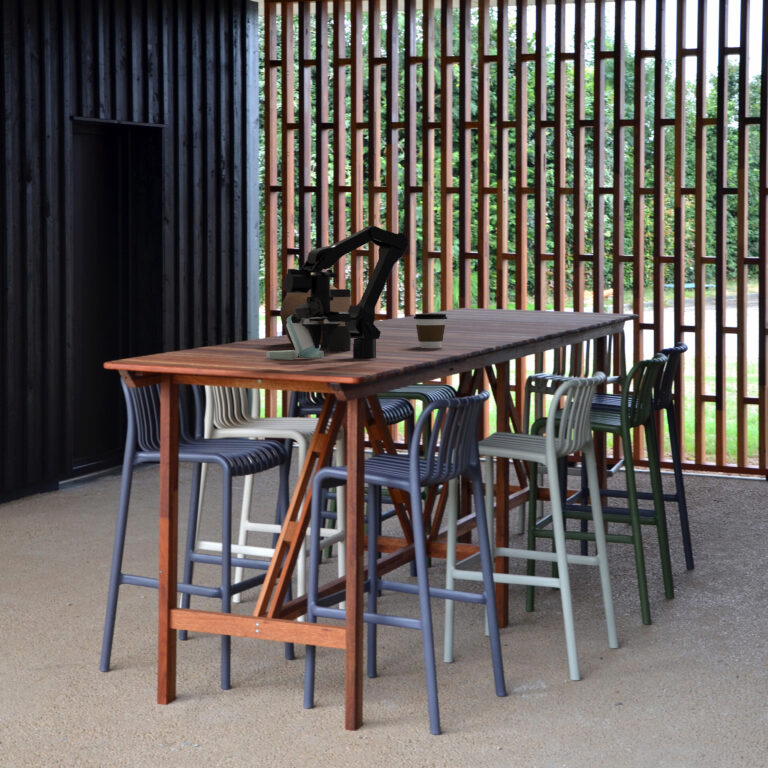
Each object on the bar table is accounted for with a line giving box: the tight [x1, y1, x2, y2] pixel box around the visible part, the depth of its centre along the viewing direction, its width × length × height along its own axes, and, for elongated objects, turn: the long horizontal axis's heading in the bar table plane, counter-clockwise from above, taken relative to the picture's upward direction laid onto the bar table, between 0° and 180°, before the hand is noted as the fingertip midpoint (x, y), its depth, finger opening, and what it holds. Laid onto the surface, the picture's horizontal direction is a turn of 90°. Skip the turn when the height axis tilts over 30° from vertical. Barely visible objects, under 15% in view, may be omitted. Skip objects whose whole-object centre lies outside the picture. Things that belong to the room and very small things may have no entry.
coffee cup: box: [413, 313, 448, 349], centre depth 408 cm, size 11×11×12 cm
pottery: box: [279, 273, 338, 348], centre depth 411 cm, size 23×23×25 cm
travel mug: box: [326, 288, 352, 352], centre depth 395 cm, size 8×8×20 cm
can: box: [286, 313, 322, 358], centre depth 365 cm, size 7×7×12 cm
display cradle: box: [265, 349, 325, 361], centre depth 368 cm, size 13×10×2 cm
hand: (321, 348), depth 360 cm, fingers open, 3 cm apart
